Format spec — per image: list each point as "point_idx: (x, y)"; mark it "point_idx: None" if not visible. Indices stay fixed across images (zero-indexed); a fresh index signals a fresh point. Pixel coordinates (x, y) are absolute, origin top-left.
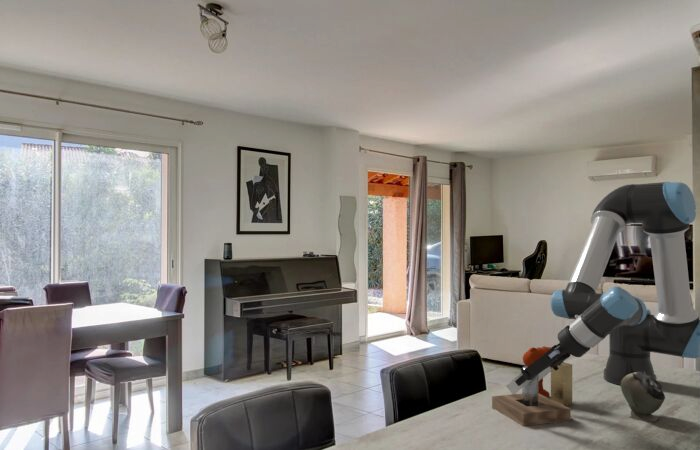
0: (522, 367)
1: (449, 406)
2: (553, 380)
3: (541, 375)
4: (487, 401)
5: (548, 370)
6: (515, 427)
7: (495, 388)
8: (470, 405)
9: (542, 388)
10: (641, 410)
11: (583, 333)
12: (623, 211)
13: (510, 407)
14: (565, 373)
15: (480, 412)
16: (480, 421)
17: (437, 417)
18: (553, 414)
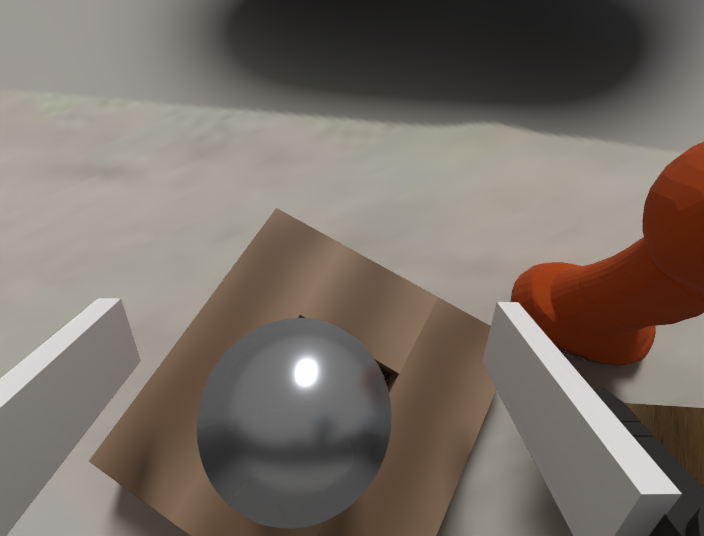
0: (261, 326)
1: (187, 114)
2: (667, 429)
3: (523, 416)
4: (345, 185)
5: (574, 512)
6: (91, 426)
7: (526, 137)
8: (250, 161)
9: (620, 333)
10: None
11: None
12: None
13: (176, 347)
14: None
15: (193, 224)
16: (83, 273)
17: (39, 139)
18: None
